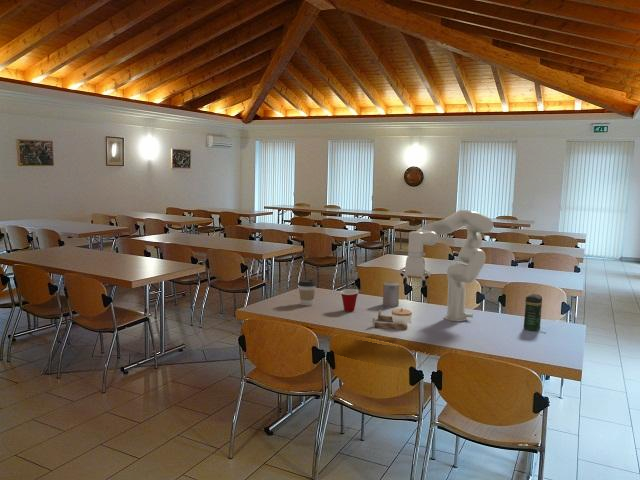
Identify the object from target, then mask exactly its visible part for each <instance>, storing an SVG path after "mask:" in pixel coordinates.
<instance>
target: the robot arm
mask: <svg viewBox="0 0 640 480" xmlns="http://www.w3.org/2000/svg"><path fill="white" fill-rule="evenodd" d="M464 226H465V229H466V233H467V237H466V240H465V242H464V243H463V245H462V247H461V249H460V251H458V252H459V253H458V256H457V258H458V261H459V262H460V263H458V262H454V263H451V264H450V265H449V266H448V267H447V270H446V276H447V286H448V287H447V306H446V307H447V309H446V310H447V311H446V314H445V315H443V318H444V320H446V321H451V322H466V321H467V320H468V318H473V313H471V312H469V313H468V312H466V293H467V291H466V290H467V289H466V284H472V283H473V282H474V281H476V280H477V278H478V276H479V275H480V272H481V271H482V269H483V267H484V265H485V264H486V259H487V256H486V253H485V251H484V250H483V249H480V248H481V246H482V242H483V239H482V234H484V233H485V234H487V233H490V232H491V231H492V230H493V228H494V222H493V220H492V219H491V218H490V217H488V216H486V215H483V214H482V213H480V212H477V211H474V210H466V209H461V210H460V209H459V210H457V211H456V212H454V213H451V214H450V215H449V216H447V217H445V218H443V219H441V220H437V221H434V222H431V223H428V224H425V225H423V226H421V227H420V228H418V229H417V230H416V231H415V230H413V231H409V234H408V251H407V253H408V254H407V257H406V260H405V265H404V267H402V268H400V269H398V273H399V275H400V276H401V278H402V280H403V281H402V284H403V286H404V287H406V286H407V283H408V276H409V277H421V279H422V281H421V288H422V289H424V288H425V287H426V286H427V284H426V283H427V280H428V278H429V277H430V276H431V274H432V272H431V271H430V270H428V269H426V263H425V260H426V259H425V256H426V253H425V252H424V245H425V246H434V245H436V244H437V243H438V242H439V236H441V235H449V234H451V233H453V232H455V231H456V230H458V229H460V228H462V227H464ZM481 233H482V234H481ZM403 271H404V272H403ZM426 274H427V275H426Z"/></svg>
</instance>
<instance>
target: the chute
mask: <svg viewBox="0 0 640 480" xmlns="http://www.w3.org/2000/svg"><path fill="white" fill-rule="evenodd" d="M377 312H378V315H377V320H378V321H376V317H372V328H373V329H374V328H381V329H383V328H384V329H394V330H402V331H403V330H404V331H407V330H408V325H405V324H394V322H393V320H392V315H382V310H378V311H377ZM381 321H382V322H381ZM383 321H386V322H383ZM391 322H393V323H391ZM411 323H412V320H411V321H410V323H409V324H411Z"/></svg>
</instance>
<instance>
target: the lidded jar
mask: <svg viewBox="0 0 640 480" xmlns="http://www.w3.org/2000/svg"><path fill="white" fill-rule="evenodd" d="M412 315H413V312H412V310H410V309H406V308H405V309H403V308H396V309H392V310H391V316H392V320H393V321H392V322H393V323H394V324H405V325H407V326H408V325H409V324H411V323H410V321H411V322H412Z"/></svg>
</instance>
